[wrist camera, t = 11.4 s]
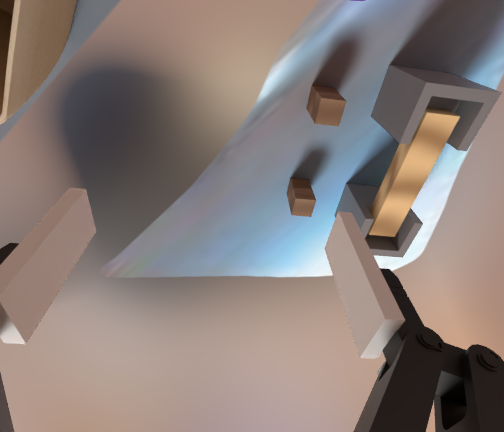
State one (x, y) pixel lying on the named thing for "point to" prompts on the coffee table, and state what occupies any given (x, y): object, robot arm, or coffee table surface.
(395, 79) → the end caps
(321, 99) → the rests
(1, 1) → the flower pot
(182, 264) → the coffee table surface
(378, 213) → the slat
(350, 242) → the robot arm
